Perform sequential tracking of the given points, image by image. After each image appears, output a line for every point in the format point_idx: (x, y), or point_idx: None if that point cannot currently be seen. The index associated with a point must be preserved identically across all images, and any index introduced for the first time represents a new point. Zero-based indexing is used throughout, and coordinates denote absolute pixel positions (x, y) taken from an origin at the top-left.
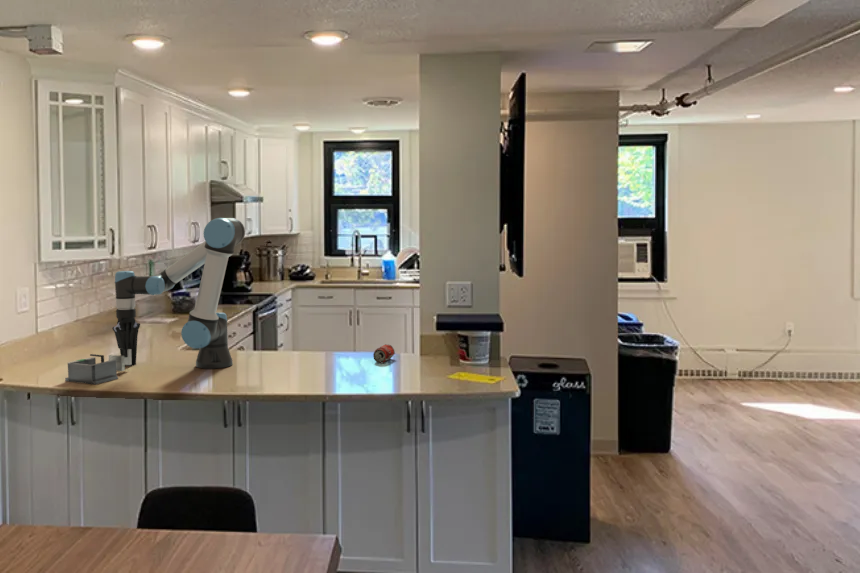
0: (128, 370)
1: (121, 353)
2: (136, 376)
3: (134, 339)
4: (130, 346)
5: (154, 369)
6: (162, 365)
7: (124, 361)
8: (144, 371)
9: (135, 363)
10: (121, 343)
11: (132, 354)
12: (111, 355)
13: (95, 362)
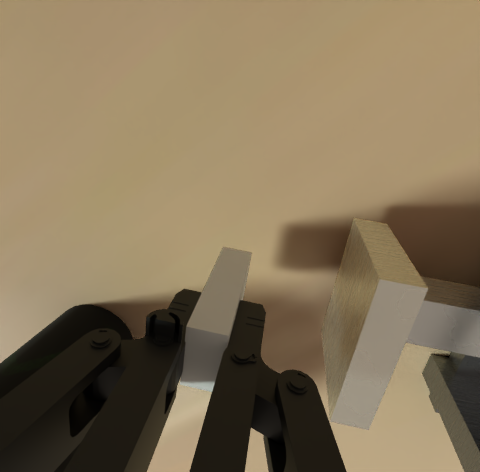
0: None
1: None
2: (438, 45)
3: (56, 408)
4: (177, 355)
5: (143, 81)
6: (9, 117)
7: (368, 249)
8: (233, 114)
9: (74, 309)
10: (338, 451)
11: None
12: (379, 401)
13: (473, 434)
